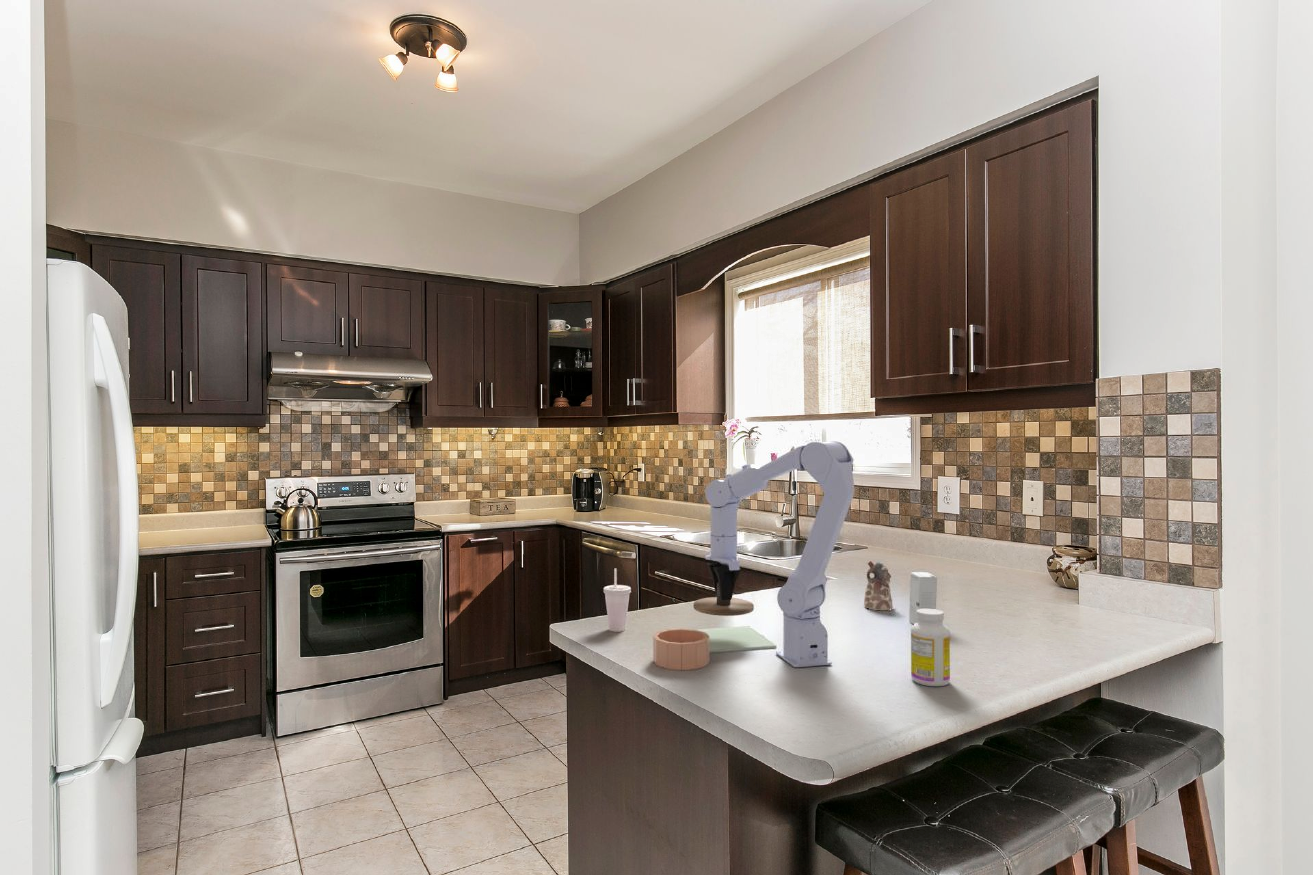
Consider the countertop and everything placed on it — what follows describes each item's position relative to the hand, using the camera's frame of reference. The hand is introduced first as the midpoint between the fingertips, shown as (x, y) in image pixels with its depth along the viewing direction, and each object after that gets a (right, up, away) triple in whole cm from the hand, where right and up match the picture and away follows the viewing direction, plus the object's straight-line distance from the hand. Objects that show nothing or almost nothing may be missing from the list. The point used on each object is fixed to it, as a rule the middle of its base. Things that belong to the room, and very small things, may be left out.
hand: (723, 597), depth 158 cm
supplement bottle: (+35, -10, -25) cm, 44 cm away
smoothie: (-24, -10, +10) cm, 27 cm away
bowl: (-10, -10, -13) cm, 19 cm away
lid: (0, -2, 0) cm, 2 cm away
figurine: (+43, -10, +31) cm, 54 cm away
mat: (+1, -10, +2) cm, 10 cm away
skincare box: (+48, -10, +14) cm, 51 cm away
